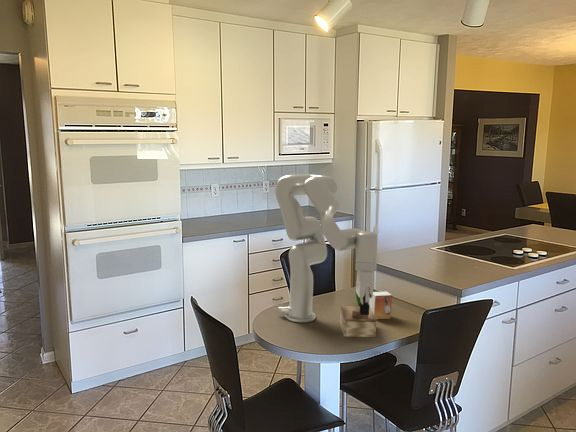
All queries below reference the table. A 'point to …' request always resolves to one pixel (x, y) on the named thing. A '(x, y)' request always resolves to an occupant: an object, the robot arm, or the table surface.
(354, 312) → the lid
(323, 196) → the robot arm
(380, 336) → the table surface
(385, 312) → the small box
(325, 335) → the table surface
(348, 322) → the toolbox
